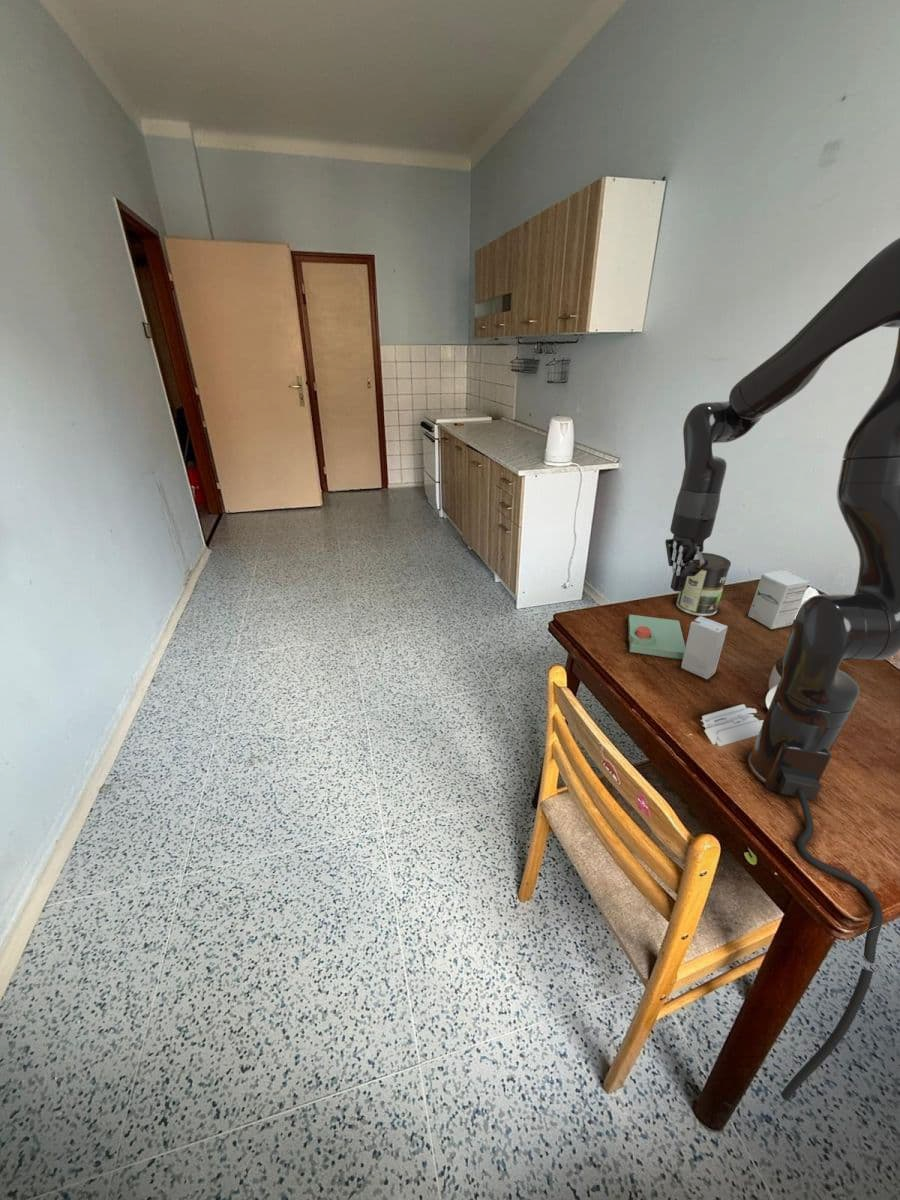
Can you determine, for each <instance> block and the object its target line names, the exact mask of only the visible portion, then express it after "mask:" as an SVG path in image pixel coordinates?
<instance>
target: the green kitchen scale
mask: <svg viewBox="0 0 900 1200" xmlns="http://www.w3.org/2000/svg"><path fill="white" fill-rule="evenodd" d="M627 626H628V627H627V630H628V646H629V647H628V648H629V653H636V654H642V655H649V656H656V657H662V658H663V657H664V658H669V659H677V660H683V656H684V652H685V647H686V643H685V640H684V636H683V631H682V626H681V623H680V620H678V619H677V620H676V619H669V618H660V617H653V616H644V615H636V614H628V619H627ZM639 626H645V627H648V628H649V629H650V630H651V632H650V637H649V638H647V639H644V638H639V637H637V636H636V631H637V628H638V627H639Z"/></svg>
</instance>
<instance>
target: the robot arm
mask: <svg viewBox="0 0 900 1200" xmlns="http://www.w3.org/2000/svg"><path fill="white" fill-rule="evenodd" d="M880 327H881V328H893V329H894V328H895V329H896V328H897V329H898V331H897V340H896V341H897V342H896V346H895V351H894V356H893V361H892V365H891V368H890V372H889V375H888V377H887V379H886V382H885V384H884V385H883V387H882V388H881V389H882V390H881V391H880V392H879V394H878V395H877V397H876V399H875V400H874V401H873V403H872V404H871V405H870V406H869V408H868V409H867V410H866V412H865V414H864V415H863V416H862V418H861V419H860V420H859V422H858V423H857V424H856V426H855V427H854V430H853V431H852V433H851V434H850V436H849V437H848V439H847V442H846V444H845V448H844V450H843V455H842V460H841V463H840V470H839V475H838V480H837V485H836V486H837V488H836V501H837V506H838V508H839V511H840V514H841V516H842V518H843V520H844V523H845V524H846V527H847V529H848V530H849V533H850V534H851V537H852V538H853V540H854V543H855V545H856V549H857V552H858V557H859V565H858V566H859V568H858V575H857V582H856V585H855V586H856V587H855V590H854V593H838V594H837V593H834V594H833V593H830V594H829V593H828V594H816V595H813V596H811V597H809V598H807V599H806V600H805V601H804V602H803V604H802V605H800V607H799V609H798V611H797V614H796V616H795V619H794V621H793V624H792V628H791V630H790V634H789V638H788V641H787V644H786V647H785V650H784V653H783V656H782V657H783V673H782V676H781V679H780V682H779V684H778V687H777V689H776V692H775V694H774V696H773V699H772V702H771V704H770V707H769V709H768V708H767V712H766V715H765V717H764V720H763V722H762V724H761V727H760V729H759V731H758V735H757V737H756V739H755V741H754V746H753V748H752V751H750V753H749V756H748V759H747V765H748V769H749V770H750V772H751V773H752V775H753V776H754V777H755V778H756V779H757V780H758V781H759V782H760V783H763V785H764V787H765V789H766V790H767V791H771V792H775V793H779V794H782V795H785V796H789V797H790V796H791V797H796V798H798V801H799V803H800V807H801V811H802V815H803V820H804V830H803V831H802V833H801V834H800V836H798V838H797V840H796V848H797V851H798V852H799V853H800V855H801V856H802V857H803V859H805V860H806V861H807V862H808V863H809V864H811V865H812V866H813V867H815V868H816V869H818V870H820V871H823V872H824V873H827V874H829V875H831V876H833V877H836V878H839V879H841V880H843V881H845V882H847V883H849V884H851V885H852V886H854V887H855V888H857V889H858V890H859V891H860V892H861V893H862V894H863V895H864V897H865V898H866V900H867V901H868V903H869V905H870V908H871V912H872V913H871V918H870V922H869V924H868V927H867V930H866V935H865V941H864V948H863V957H864V960H866V962H868V963H869V964H872V965H874V963H875V961H876V951H877V943H878V939H879V936H880V932H881V929H882V925H883V921H884V913H883V909H882V905H881V904H880V901H879V900H878V898H877V897H876V895H875V893H873V891H872V890H871V889H870V888H869V887H868V886H867V885H866V884H865V883H864V882H863V881H861V880H860V879H858V878H857V877H855V876H854V875H851V874H849V873H847V872H845V871H844V870H841V869H838V868H836V867H834V866H831V865H829V864H827V863H824V862H823V861H821V860H818V859H817V858H816V857H814V856H813V855H812V854H811V853H810V852H809V850H808V849H807V847H806V844H807V842H808V841H809V840H810V839H811V838H812V836H813V834H814V820H813V817H812V812H811V808H810V807H811V806H810V804H809V802H808V800H811V801H815V800H816V798H817V796H818V794H819V792H820V790H821V788H822V787H821V785H820V783H819V782H820V781H821V779H822V777H823V775H824V773H825V771H826V769H827V766H828V765H829V764H830V763H829V762H830V761H831V758H832V753H831V752H832V750H833V749H834V746H835V744H836V743H837V740H838V738H839V737H840V734H841V733H842V731H843V729H844V726H845V725H846V723H847V721H848V719H849V718H850V717H849V716H850V715H851V712H852V710H853V709H854V707H855V706H856V703H857V701H858V700H859V697H860V691H861V690H860V686H859V684H858V683H857V681H855V679H854V678H853V677H852V676H850V675H849V674H847V672H845V671H843V670H842V669H840V668H839V667H840V664H841V663H842V662H847V661H854V662H856V661H858V662H859V661H860V662H862V661H863V662H864V661H881V660H882V661H883V660H886V659H889V658H891V657H893V656H895V655H896V654H897V653H898V652H899V651H900V237H898V238H897V239H894V241H892V242H891V243H889V244H888V245H887V246H885V247H884V248H883V249H881V250H880V251H879V252H878V253H877V254H875V255H874V256H873V257H872V258H871V259H870V260H869V261H868V262H867V263H866V264H865V265H863V266H862V268H860V270H859V271H857V273H855V274H854V275H853V277H852V278H850V279H849V280H848V282H846V284H844V286H843V287H842V288H841V289H839V291H838V292H837V293H836V294H835V295H834V296H833V297H832V298H831V299H830V300H829V301H828V302H827V303H826V304H825V305H824V306H823V307H822V308H821V309H820V310H819V311H817V313H816V314H815V315H814V316H813V317H812V318H811V319H810V320H809V321H808V322H807V323H806V324H805V325H804V326H803V327H802V328H801V329H800V330H798V332H797V333H796V334H795V335H794V336H793V337H792V338H790V340H789V341H788V342H786V343H784V345H783V346H782V347H781V348H779V349H778V350H777V351H776V352H774V353H773V354H772V355H771V356H769V357H768V358H767V359H766V360H764V361H763V362H761V363H760V364H759V365H757V367H755V368H753V370H751V371H750V372H748V373H747V374H746V375H745V376H743V377H742V378H741V379H739V381H737V383H735V385H734V386H733V387H732V388H731V390H730V392H729V396H728V400H727V401H711V402H709V401H707V402H701V403H698V404H696V405H694V407H692V408H691V409H690V411H689V412H688V414H687V416H686V418H685V420H684V422H683V428H682V437H683V438H682V439H683V453H684V469H683V470H684V471H683V474H682V479H681V484H680V487H679V491H678V494H677V496H676V500H675V504H674V510H673V514H672V519H671V523H670V524H671V525H670V529H669V530H670V533H671V534H672V535H673V536H672V538H667V539H665V549H666V557H667V563H668V566H669V567H672V568H671V571H672V579H671V582H670V589H671V590H673V591H674V592H679V591H683V590H684V587H685V583H686V579H687V576H695V575H696V574H698V573H699V572H700V571H701V570H702V569H703V568H704V567H705V566H707V565H708V560H707V559H703V556H702V553H704V549H705V547H704V542H705V541H706V540H707V539H708V538H710V537H711V536H712V534H713V529H714V526H715V521H716V518H717V513H718V509H719V507H720V506H719V505H720V501H721V493H722V488H723V484H724V479H725V476H726V472H727V467H728V463H727V461H726V459H724V458H723V457H721V456H717V455H713V444H724V443H730V442H733V441H736V440H738V439H740V438H742V437H743V436H745V435H746V434H748V433H749V432H750V431H751V430H752V429H753V428H754V427H755V426H756V425H757V424H758V423H759V422H760V421H761V420H762V418H763V417H764V416H765V415H766V414H769V413H771V412H773V410H776V409H777V408H778V407H780V406H781V405H783V404H785V403H786V402H787V401H789V400H791V399H793V398H794V397H795V396H796V395H798V394H799V393H800V392H801V391H803V390H804V389H805V388H806V387H807V386H808V385H809V384H810V383H811V381H812V380H814V378H815V377H816V375H817V374H818V372H819V371H820V369H821V367H823V365H824V364H825V363H826V361H827V360H828V359H829V358H831V356H833V355H834V353H836V352H838V351H839V350H840V349H841V348H843V347H844V346H845V345H847V344H849V343H850V342H852V341H854V340H856V339H858V338H860V337H861V336H863V335H866V334H867V333H870V332H871V331H874V330H876V329H878V328H880ZM881 924H882V925H881ZM876 926H878V927H876ZM873 927H876V928H874V929H871V928H873ZM869 929H871V930H869ZM868 930H869V931H868ZM873 974H874V971H873V970H870V969H867V968H861V969H860V973H859V976H858V980H857V983H856V985H855V988H854V990H853V992H852V994H851V997H850V999H849V1001H848V1004H847V1006H846V1008H845V1010H844V1011H843V1013H842V1015H841V1017H840V1019H839V1021H838V1023H837V1024H836V1026H835V1027H834V1029H833V1030H832V1032H831V1034H830V1035H829V1037H828V1038H827V1039H826V1040H825V1042H824V1043H823V1044H822V1045H821V1046H820V1047H819V1049H818V1050H817V1051H816V1052H815V1053H814V1054H813V1056H812V1057H811V1058H810V1059H809V1060H808V1061H807V1062H806V1063H805V1064H804V1065H803V1066H802V1067H801V1068H800V1069H799V1070H798V1072H797V1073H796V1074H795V1075H794V1076H793V1077H792V1079H790V1081H789V1082H788V1083H787V1085H786V1086H785V1087H784V1088H783V1090H782V1091H781V1093H780V1097H781V1098H782V1099H783V1100H784V1101H786V1102H788V1101H789V1100H790V1099H791V1097H792V1096H793V1095H794V1094H795V1093H796V1091H798V1089H799V1088H800V1087H801V1085H803V1084H804V1082H805V1081H806V1080H807V1079H808V1078H809V1077H810V1076H811V1075H812V1074H813V1073H814V1072H815V1071H816V1070H817V1069H818V1068H819V1067H820V1066H821V1065H822V1064H823V1063H824V1062H825V1061H826V1059H827V1058H828V1057H829V1056H830V1055H831V1054H832V1053H833V1051H834V1050H835V1049H836V1047H838V1045H839V1044H840V1043H841V1041H842V1039H843V1038H844V1037H845V1035H846V1034H847V1032H848V1030H849V1029H850V1027H851V1025H852V1024H853V1022H854V1020H855V1018H856V1017H857V1014H858V1012H859V1011H860V1009H861V1007H862V1004H863V1001H864V999H865V998H866V995H867V992H868V990H869V987H870V985H871V981H872V978H873Z"/></svg>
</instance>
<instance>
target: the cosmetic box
mask: <svg viewBox="0 0 900 1200" xmlns="http://www.w3.org/2000/svg"><path fill="white" fill-rule="evenodd" d="M728 628H729V627H728V625H726V624H724V623H723V624H722V623H720V622H717V621H715V620H712V619H709V618H707V617H705V616H698V617H696V618H695V619H694V620H692V621H691V622H690V625H689V629H688V634H687V639H686V643H685V652H684V656H683V659H681V665H680V666H681V667H680V668H681V669H683V670H685V671H687V672H689V673H691V674H694V675H696V676H699V677H701V678H702V679H705V680H708V679H710V678H711V677H712V676H713V675H714V674H716V672H717V668H718V665H719V660H720V658H721V654H722V650H723V647H724V644H725V639H726V635H727V631H728Z"/></svg>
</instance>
